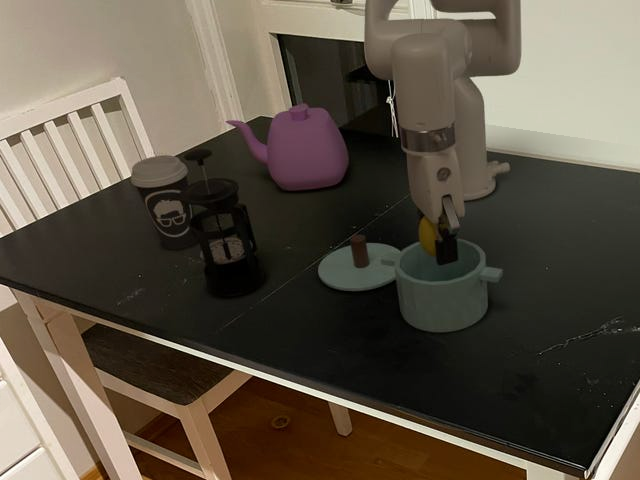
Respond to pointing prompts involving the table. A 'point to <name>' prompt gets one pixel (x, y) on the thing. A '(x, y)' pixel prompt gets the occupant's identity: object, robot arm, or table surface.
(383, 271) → the lid
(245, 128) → the teapot
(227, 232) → the french press
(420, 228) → the lemon
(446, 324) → the pot
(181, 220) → the coffee cup
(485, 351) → the table surface
